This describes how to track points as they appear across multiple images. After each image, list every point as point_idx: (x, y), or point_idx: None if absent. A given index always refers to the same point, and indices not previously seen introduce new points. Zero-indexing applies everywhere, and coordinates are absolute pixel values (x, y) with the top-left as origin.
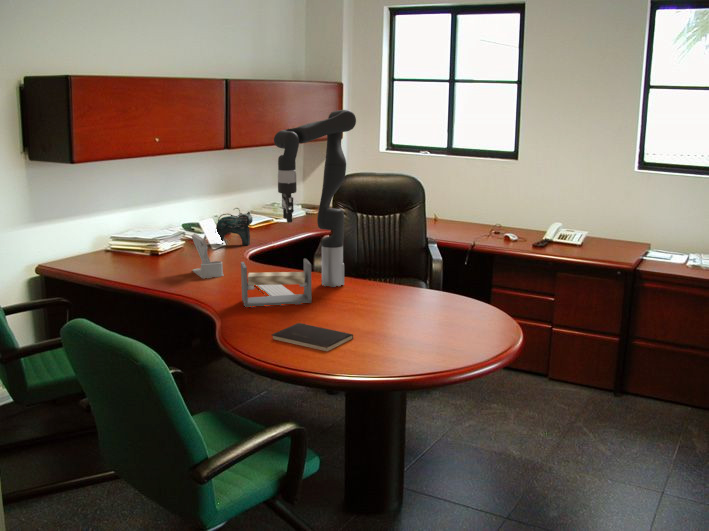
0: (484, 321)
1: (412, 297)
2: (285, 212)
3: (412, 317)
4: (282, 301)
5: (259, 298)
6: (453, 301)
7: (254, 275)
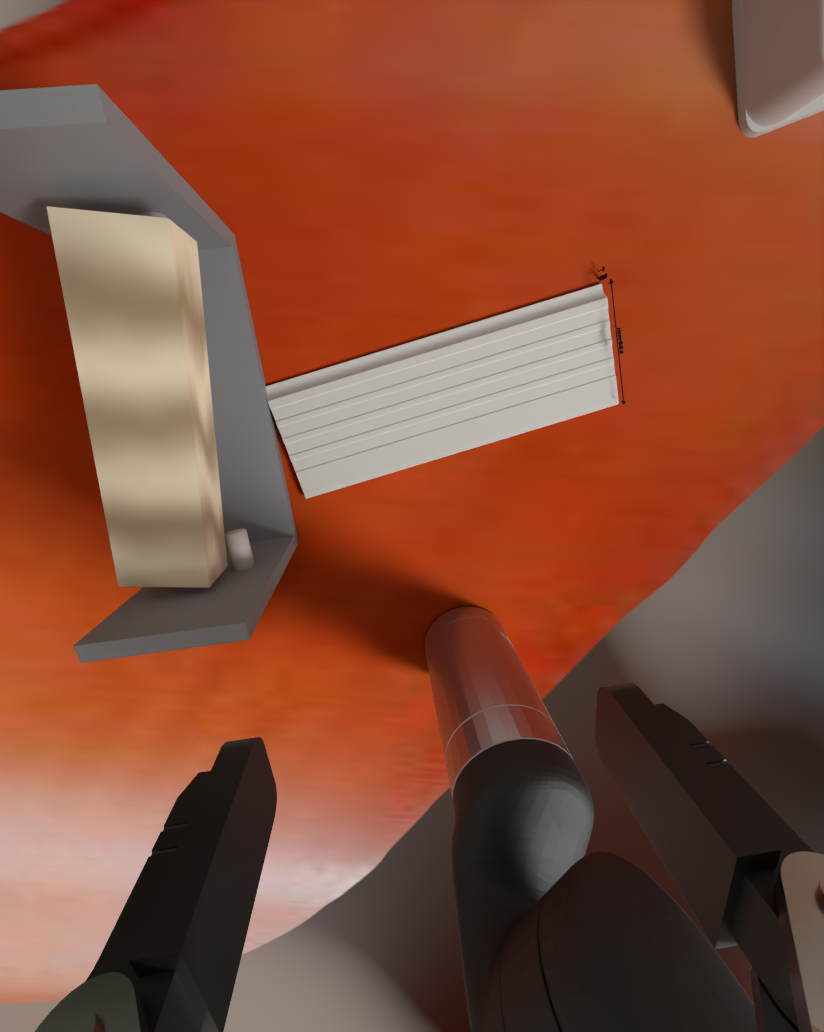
0: (34, 962)
1: (274, 844)
2: (675, 820)
3: (46, 830)
4: None
5: (220, 328)
6: None
7: (85, 263)
